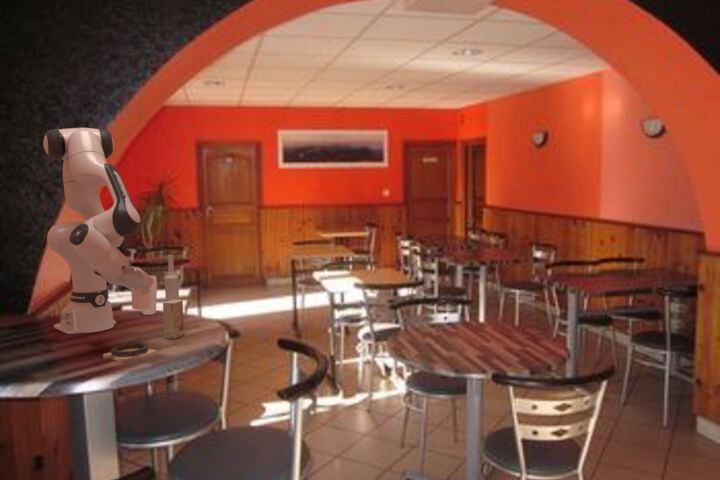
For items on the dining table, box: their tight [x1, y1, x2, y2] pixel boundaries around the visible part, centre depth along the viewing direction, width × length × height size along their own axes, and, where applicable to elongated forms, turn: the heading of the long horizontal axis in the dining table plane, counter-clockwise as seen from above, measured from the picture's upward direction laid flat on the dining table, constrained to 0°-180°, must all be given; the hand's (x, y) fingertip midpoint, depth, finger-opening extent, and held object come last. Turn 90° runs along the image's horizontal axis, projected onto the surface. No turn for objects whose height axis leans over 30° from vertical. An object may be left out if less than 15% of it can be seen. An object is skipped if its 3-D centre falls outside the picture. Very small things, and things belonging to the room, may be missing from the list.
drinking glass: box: [141, 275, 158, 316], centre depth 239 cm, size 7×7×15 cm
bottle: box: [163, 254, 180, 302], centre depth 227 cm, size 5×5×25 cm
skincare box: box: [162, 299, 185, 340], centre depth 203 cm, size 6×4×12 cm
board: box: [102, 342, 158, 364], centre depth 182 cm, size 11×11×2 cm
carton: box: [130, 287, 150, 311], centre depth 194 cm, size 4×4×9 cm
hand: (142, 291), depth 195 cm, fingers closed on carton, 4 cm apart
